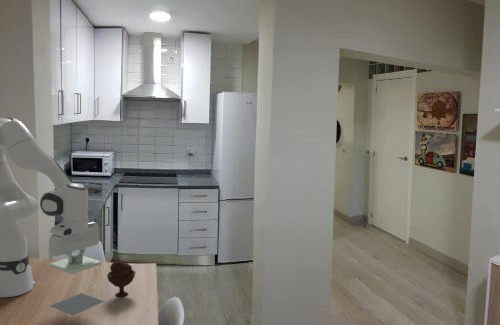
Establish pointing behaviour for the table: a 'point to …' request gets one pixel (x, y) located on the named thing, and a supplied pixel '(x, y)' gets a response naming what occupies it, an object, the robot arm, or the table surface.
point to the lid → (75, 264)
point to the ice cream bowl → (121, 276)
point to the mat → (77, 304)
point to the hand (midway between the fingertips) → (75, 261)
